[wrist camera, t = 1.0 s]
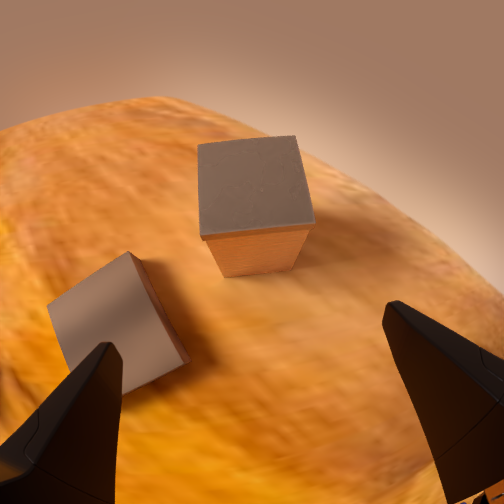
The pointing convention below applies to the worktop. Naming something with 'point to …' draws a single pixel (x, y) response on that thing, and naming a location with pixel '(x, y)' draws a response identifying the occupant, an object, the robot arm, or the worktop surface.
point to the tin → (253, 204)
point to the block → (118, 322)
